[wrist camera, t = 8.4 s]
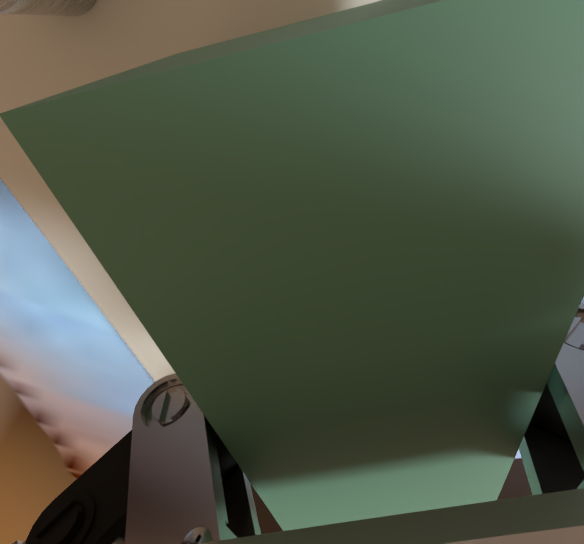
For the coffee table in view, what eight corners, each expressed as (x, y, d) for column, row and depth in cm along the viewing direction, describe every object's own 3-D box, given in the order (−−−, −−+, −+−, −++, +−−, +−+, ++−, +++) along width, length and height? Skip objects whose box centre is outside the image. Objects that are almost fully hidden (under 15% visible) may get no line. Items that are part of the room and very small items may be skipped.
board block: (409, -7, 7) (742, -76, 2) (408, 358, 14) (481, 535, 9) (177, 53, 7) (-2, 113, 2) (291, 379, 14) (302, 558, 10)
